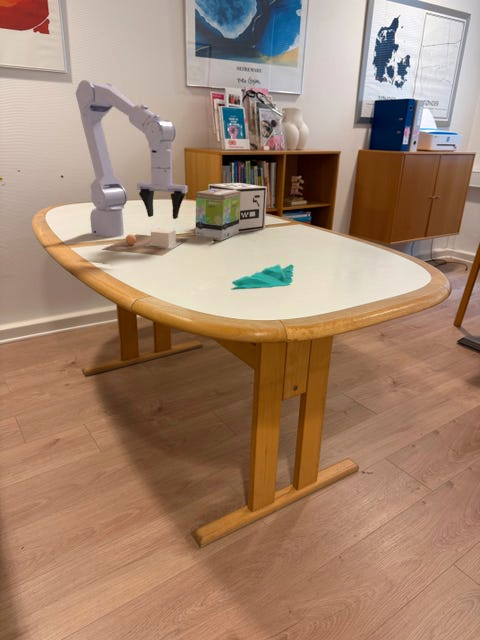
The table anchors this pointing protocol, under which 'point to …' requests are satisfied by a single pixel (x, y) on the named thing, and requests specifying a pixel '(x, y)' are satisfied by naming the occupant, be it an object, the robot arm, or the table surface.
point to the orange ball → (130, 239)
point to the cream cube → (163, 237)
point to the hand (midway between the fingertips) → (162, 217)
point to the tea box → (217, 213)
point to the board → (143, 246)
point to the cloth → (266, 278)
